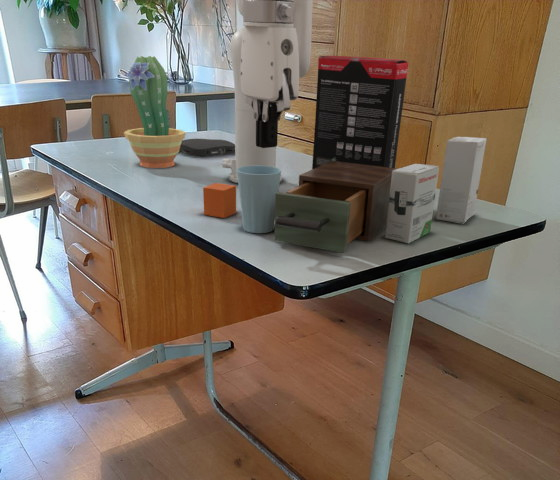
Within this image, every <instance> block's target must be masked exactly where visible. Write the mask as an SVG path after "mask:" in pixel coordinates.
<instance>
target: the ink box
mask: <svg viewBox="0 0 560 480" xmlns="http://www.w3.org/2000/svg"><path fill="white" fill-rule="evenodd" d="M439 172H440V166H438V165H434V164H433V165H432V164H423V163H413V164H410V165H407V166H404V167H400V168H397V169H396V170H393V171H392V179H391V188H390V198H389V206H388V215H387V225H386V226H385V235H384V238H385V239H390V240H394V241H397V242H400V243H405V244H411V243H412V242H414V241H416V240H419V239H420V238H422V237H424V236H426V235H428V234H430V233H431V229H432V228H431V227H432V221H433V214H434V208H435V200H436V199H435V198H436V193H437V186H438V180H439V179H438V178H439Z"/></svg>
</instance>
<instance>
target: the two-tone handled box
mask: <svg viewBox="0 0 560 480" xmlns="http://www.w3.org/2000/svg"><path fill="white" fill-rule="evenodd" d="M368 193H369V189H364V188H356V187H349V186H341V185H334V184H326V183H319V182H311V181H308V182H306V183H304V184H302V185H300V186H299V185H298V186H296V187H294V188H292V189H290V190H288V191H286V192H282V191H278V193H276V199H275V222H274V241H275V242H279V243H286V244H292V245H296V246H297V245H298V246H302V247H303V246H304V247H309V248H313V249H314V248H315V249H318V250H319V249H320V250H325V251H326V250H327V251H332V252H337V253H342V254H344V253H346V252H347V250H348V249H347V247H348V245H349V244H350V243H351V242H353V240H356V239H355V238H356V237H357V236H359V235H360V234H361V233H362V232H364V231H365V222H366V212H367V203H368Z"/></svg>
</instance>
